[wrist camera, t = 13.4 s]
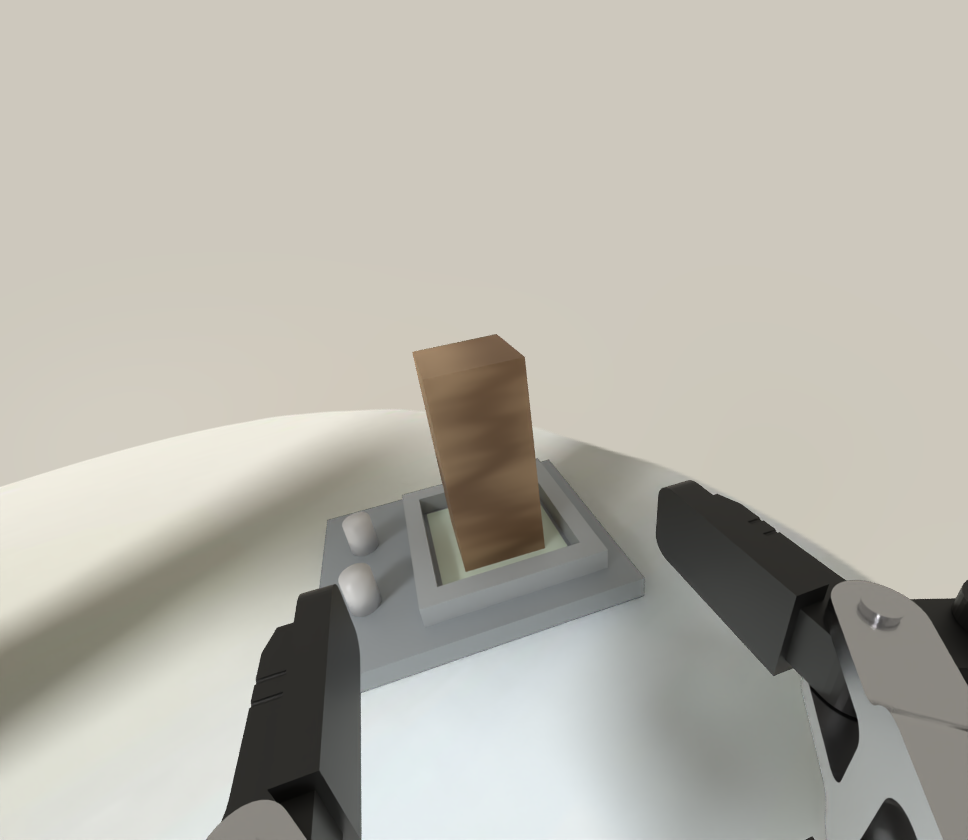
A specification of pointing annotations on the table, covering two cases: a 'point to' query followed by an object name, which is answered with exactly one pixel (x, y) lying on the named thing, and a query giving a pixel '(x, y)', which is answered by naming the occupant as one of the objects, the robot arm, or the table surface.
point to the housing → (465, 580)
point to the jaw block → (483, 447)
